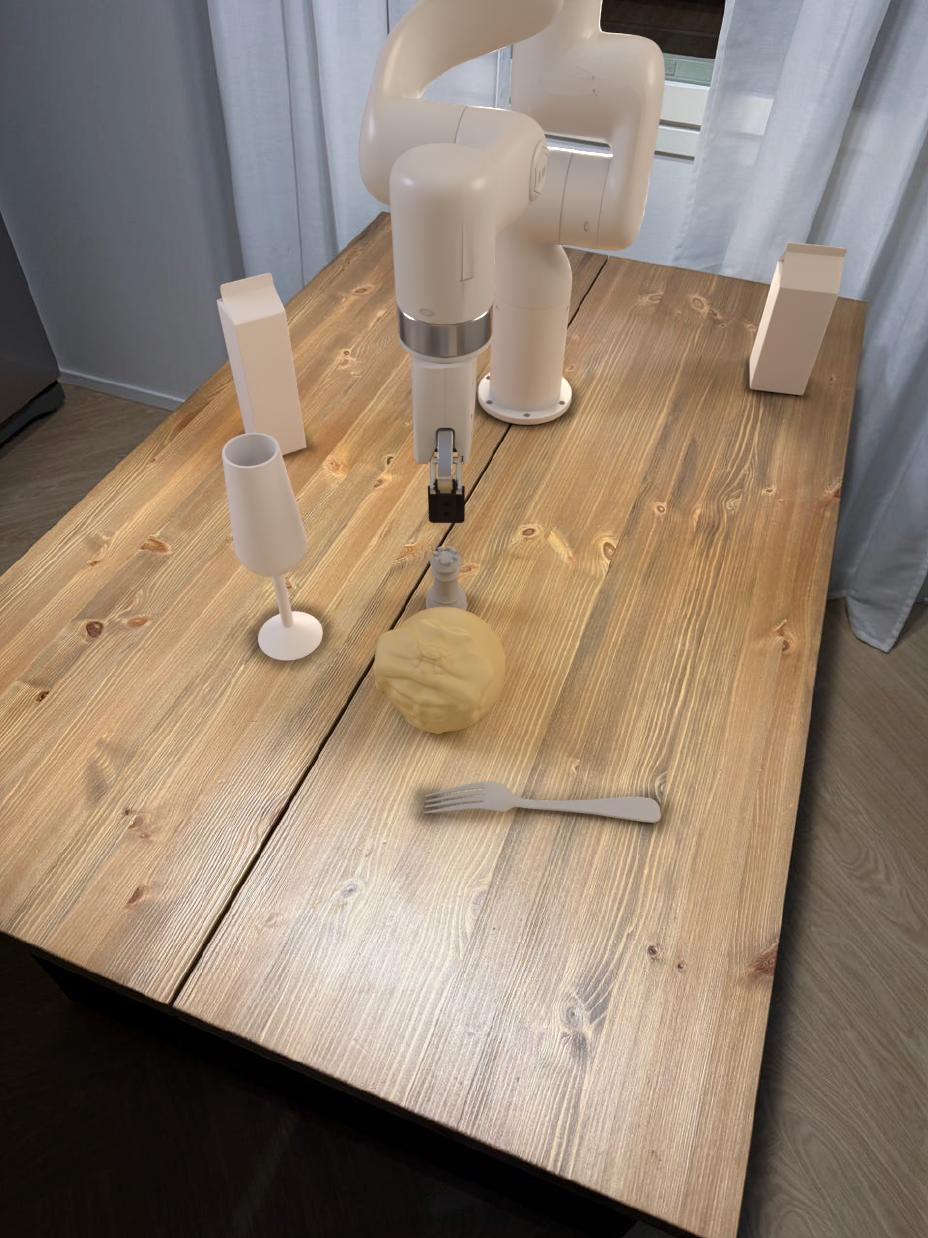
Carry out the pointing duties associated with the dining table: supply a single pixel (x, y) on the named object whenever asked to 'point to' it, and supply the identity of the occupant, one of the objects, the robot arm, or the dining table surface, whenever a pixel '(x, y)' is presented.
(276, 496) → the champagne flute
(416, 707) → the yellow dough ball
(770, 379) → the milk carton
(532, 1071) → the dining table surface
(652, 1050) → the dining table surface
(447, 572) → the rook chess piece
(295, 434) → the milk
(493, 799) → the fork
